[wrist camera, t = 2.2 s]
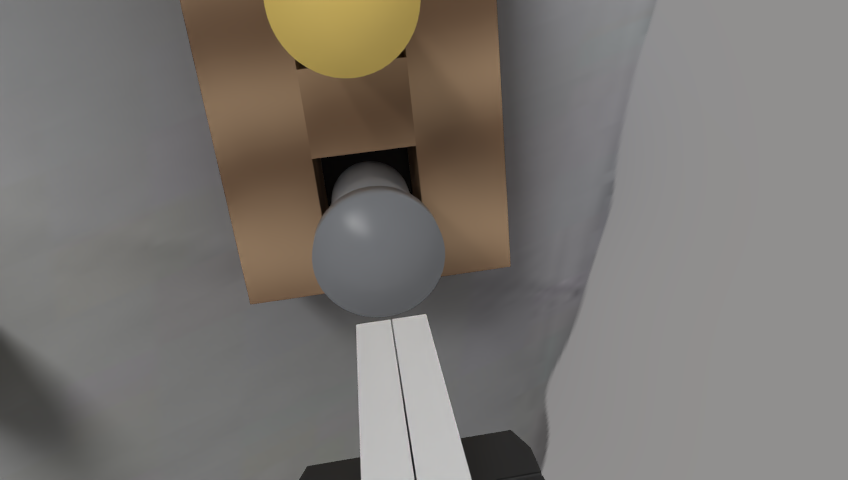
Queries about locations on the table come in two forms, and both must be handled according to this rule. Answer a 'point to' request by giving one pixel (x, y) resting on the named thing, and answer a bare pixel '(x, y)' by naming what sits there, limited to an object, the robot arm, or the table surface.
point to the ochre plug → (343, 33)
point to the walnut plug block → (352, 134)
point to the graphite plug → (376, 244)
